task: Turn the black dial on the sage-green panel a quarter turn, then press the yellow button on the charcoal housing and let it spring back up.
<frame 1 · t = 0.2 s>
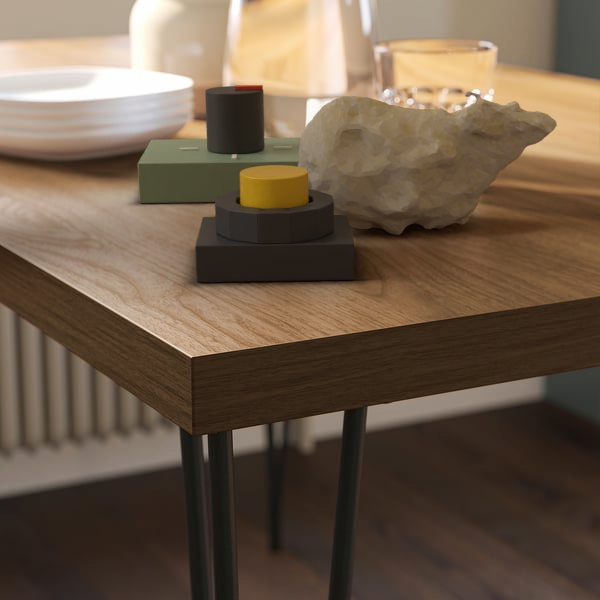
trigger button: (274, 188, 69), point 5 cm above the table, slide at 0.1 cm
button housing: (275, 264, 70), on the table
dial panel: (236, 187, 91), on the table
dial: (235, 117, 90), point 5 cm above the table, hinge at 0.0°
cream lumpy rock: (422, 225, 80), on the table
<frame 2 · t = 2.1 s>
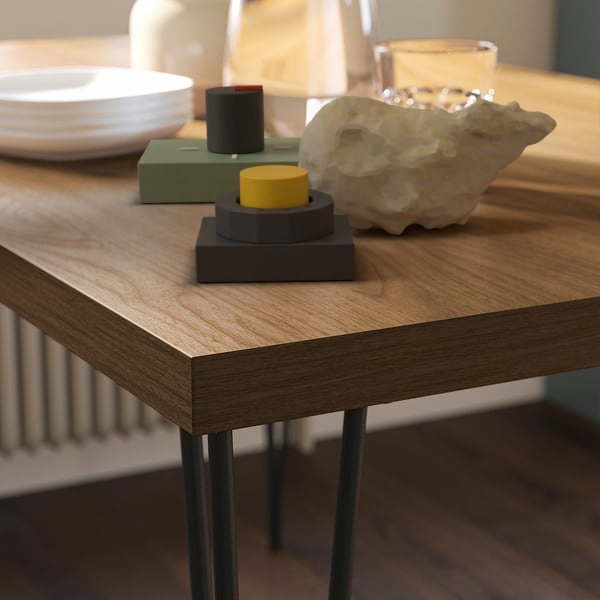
nothing on the table moved.
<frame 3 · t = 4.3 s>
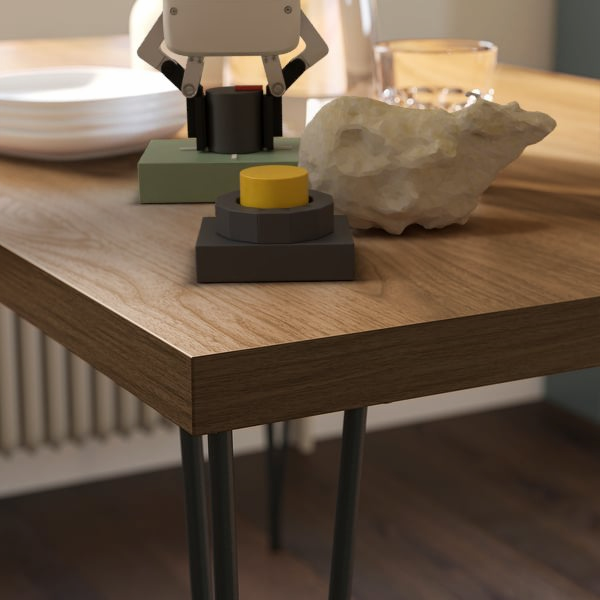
hand: (235, 144, 90), 3 cm above the table, tool pointing down, fingers closed on dial, dial panel, 4 cm apart
dial: (235, 117, 90), point 5 cm above the table, hinge at 0.0°, touching gripper
everything else where it was.
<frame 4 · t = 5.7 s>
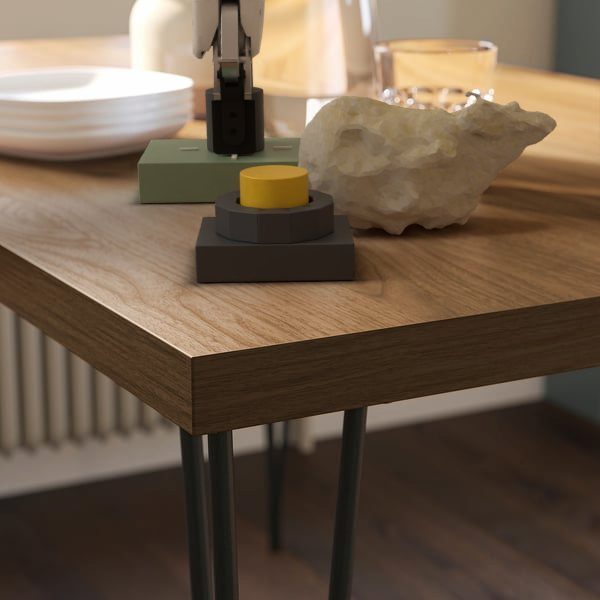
hand: (235, 144, 90), 3 cm above the table, tool pointing down, fingers closed on dial, dial panel, 4 cm apart
dial: (235, 117, 90), point 5 cm above the table, hinge at 90.5°, touching gripper
everything else where it was.
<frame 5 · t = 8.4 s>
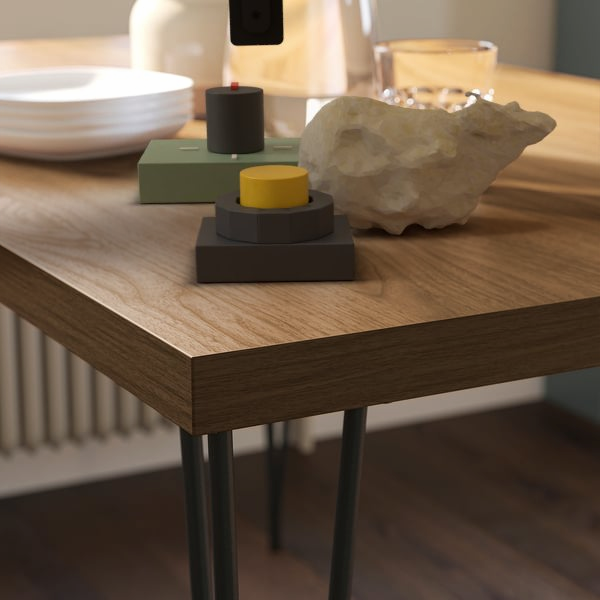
hand: (256, 37, 75), 13 cm above the table, tool pointing down, fingers open, 9 cm apart
dial: (235, 117, 90), point 5 cm above the table, hinge at 90.5°
everything else where it was.
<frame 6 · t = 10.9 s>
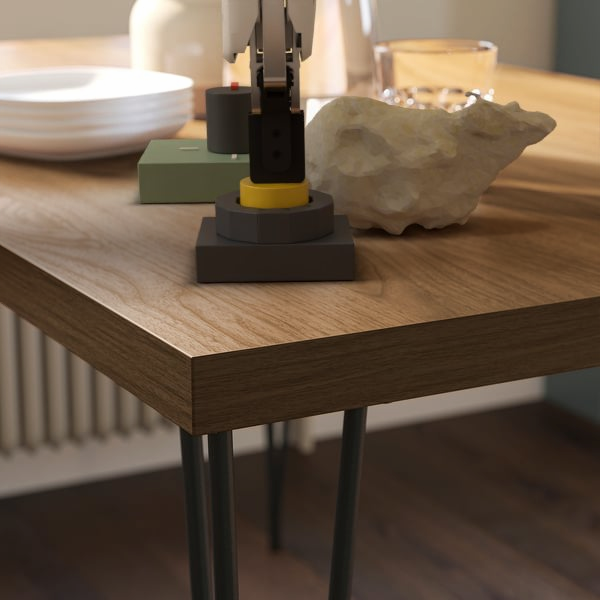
hand: (277, 180, 69), 5 cm above the table, tool pointing down, fingers closed
trigger button: (274, 197, 69), point 4 cm above the table, slide at -0.4 cm, touching gripper
everything else where it was.
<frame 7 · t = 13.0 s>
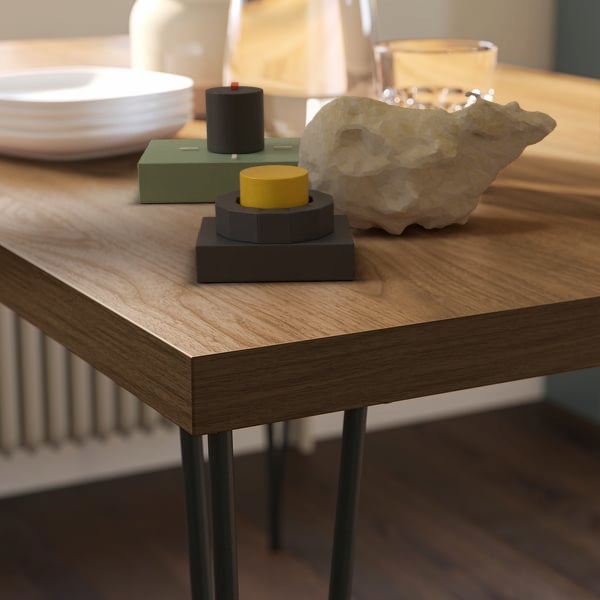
trigger button: (274, 188, 69), point 5 cm above the table, slide at 0.1 cm
everything else where it was.
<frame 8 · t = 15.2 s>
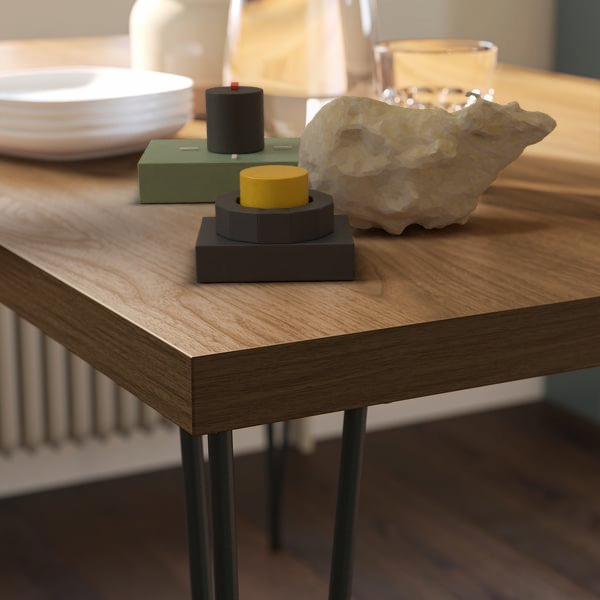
nothing on the table moved.
at the end: dial at +90° (first picture: +0°); trigger button pushed in 1.0 cm at the most during the clip, back to where it started at the end; trigger button slide at 0.1 cm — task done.
